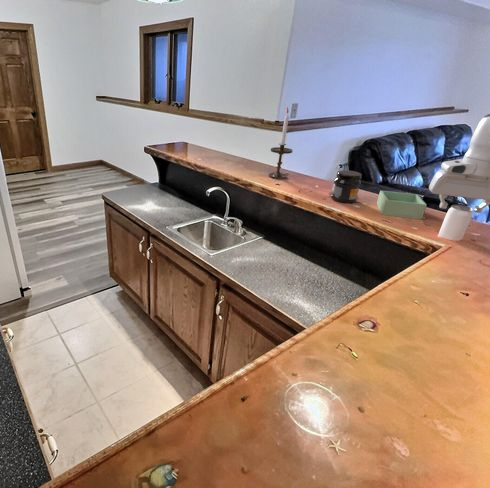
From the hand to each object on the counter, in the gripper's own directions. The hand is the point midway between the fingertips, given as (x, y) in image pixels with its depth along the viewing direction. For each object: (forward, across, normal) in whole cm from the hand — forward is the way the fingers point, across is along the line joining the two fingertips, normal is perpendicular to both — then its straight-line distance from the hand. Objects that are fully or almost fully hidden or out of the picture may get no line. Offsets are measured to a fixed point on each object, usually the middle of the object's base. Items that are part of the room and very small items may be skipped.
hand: (459, 210), depth 113 cm
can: (+11, -1, 0) cm, 11 cm away
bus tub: (+11, +9, -26) cm, 30 cm away
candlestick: (+12, +59, -61) cm, 86 cm away
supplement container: (+12, +29, -33) cm, 46 cm away
